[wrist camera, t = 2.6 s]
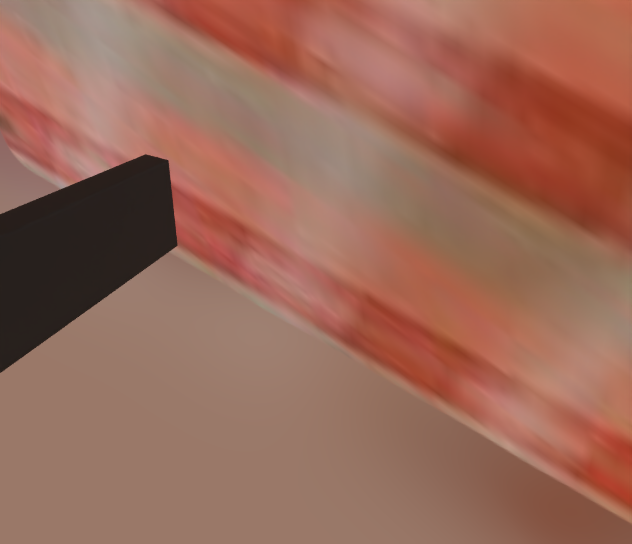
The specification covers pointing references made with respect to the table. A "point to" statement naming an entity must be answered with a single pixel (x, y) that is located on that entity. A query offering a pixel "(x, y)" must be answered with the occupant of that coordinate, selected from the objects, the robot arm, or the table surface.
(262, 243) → the table surface
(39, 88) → the table surface
